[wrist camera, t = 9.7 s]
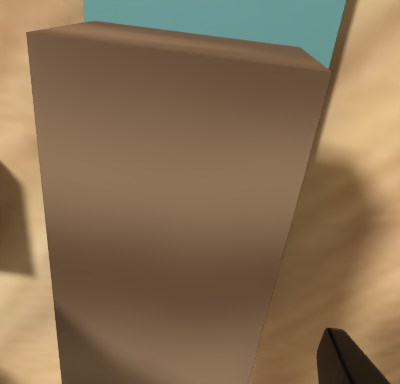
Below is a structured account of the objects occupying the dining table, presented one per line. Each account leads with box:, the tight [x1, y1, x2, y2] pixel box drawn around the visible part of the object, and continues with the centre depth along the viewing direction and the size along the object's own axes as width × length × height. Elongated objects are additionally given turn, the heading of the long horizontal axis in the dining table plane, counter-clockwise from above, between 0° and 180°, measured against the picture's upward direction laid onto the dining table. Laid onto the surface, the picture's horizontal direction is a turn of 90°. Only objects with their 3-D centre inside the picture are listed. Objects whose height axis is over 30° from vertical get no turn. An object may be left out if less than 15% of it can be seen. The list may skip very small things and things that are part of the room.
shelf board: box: [26, 21, 332, 384], centre depth 12 cm, size 12×6×4 cm, turn 174°
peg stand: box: [84, 0, 346, 69], centre depth 17 cm, size 20×11×7 cm, turn 174°
